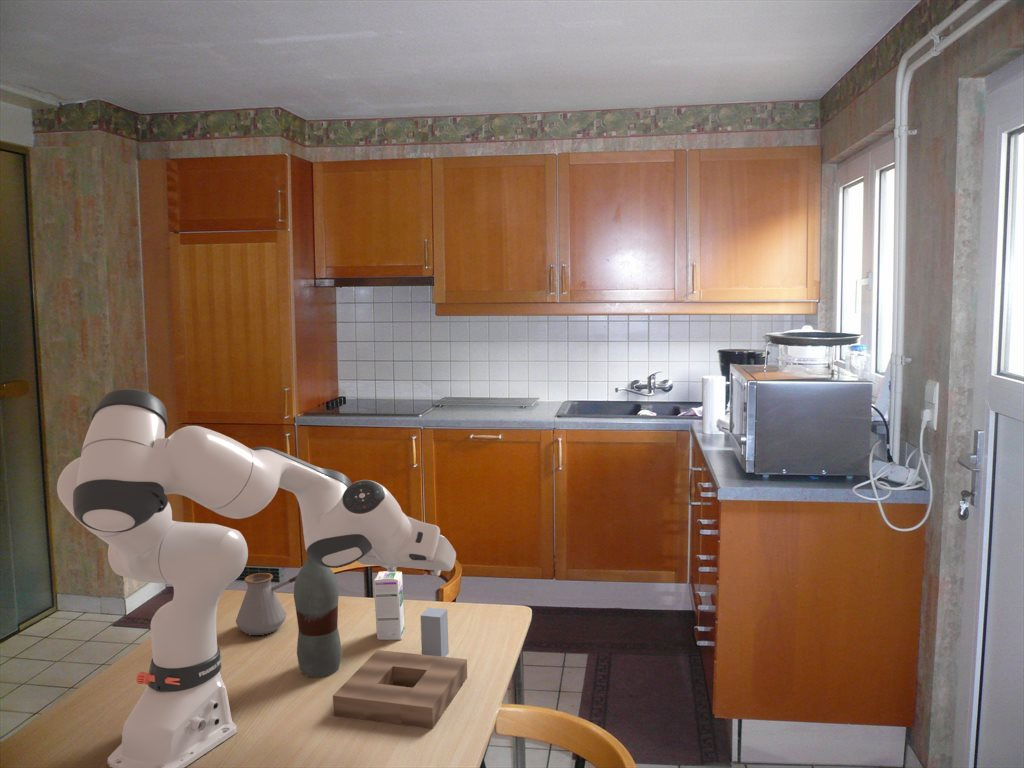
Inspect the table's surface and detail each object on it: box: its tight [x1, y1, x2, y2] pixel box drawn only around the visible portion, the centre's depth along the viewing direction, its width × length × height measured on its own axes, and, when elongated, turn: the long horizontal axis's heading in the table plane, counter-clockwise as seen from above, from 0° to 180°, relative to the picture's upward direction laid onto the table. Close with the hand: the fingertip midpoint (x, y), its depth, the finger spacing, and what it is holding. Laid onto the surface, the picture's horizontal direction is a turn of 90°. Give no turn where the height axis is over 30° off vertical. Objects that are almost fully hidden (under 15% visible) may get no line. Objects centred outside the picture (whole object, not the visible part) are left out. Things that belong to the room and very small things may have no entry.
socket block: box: [332, 649, 468, 729], centre depth 163 cm, size 20×20×4 cm
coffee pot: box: [235, 572, 297, 636], centre depth 196 cm, size 21×12×15 cm, turn 95°
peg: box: [420, 607, 450, 657], centre depth 180 cm, size 4×4×10 cm
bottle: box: [293, 557, 343, 678], centre depth 174 cm, size 9×9×30 cm
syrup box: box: [373, 570, 406, 641], centre depth 191 cm, size 6×6×14 cm
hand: (415, 570), depth 165 cm, fingers open, 8 cm apart
